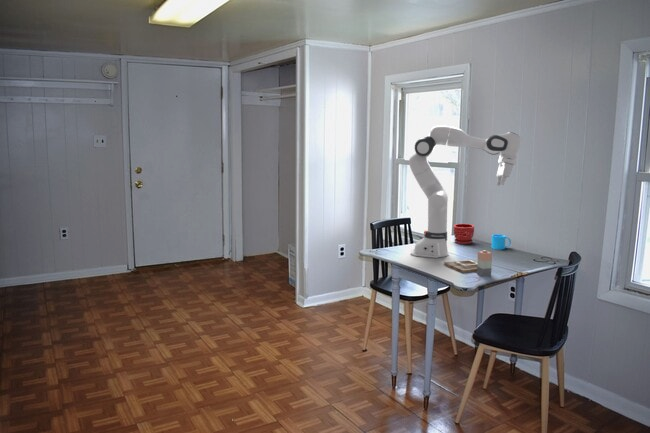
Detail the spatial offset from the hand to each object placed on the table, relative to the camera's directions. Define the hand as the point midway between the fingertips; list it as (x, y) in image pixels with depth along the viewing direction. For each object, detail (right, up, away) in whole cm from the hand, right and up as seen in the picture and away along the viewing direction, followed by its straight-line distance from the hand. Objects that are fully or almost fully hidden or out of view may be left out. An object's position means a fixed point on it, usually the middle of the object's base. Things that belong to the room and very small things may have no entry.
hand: (499, 185), depth 294 cm
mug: (+13, -38, +37) cm, 55 cm away
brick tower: (-16, -48, -22) cm, 56 cm away
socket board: (-21, -46, -8) cm, 51 cm away
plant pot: (-7, -36, +52) cm, 64 cm away
